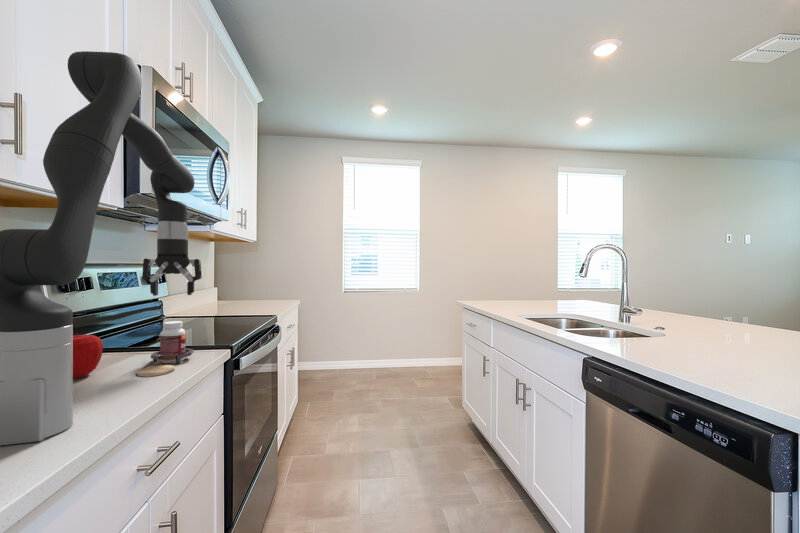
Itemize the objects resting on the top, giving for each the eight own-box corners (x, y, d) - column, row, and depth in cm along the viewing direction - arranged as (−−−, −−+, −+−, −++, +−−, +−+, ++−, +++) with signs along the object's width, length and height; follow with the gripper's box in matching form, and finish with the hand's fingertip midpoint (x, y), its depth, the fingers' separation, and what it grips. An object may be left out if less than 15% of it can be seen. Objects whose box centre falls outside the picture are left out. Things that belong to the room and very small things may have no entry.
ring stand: (188, 363, 102) (188, 355, 102) (147, 366, 99) (147, 357, 99) (195, 355, 111) (195, 347, 111) (158, 357, 108) (158, 349, 108)
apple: (113, 371, 94) (113, 329, 94) (74, 383, 85) (74, 336, 85) (80, 370, 96) (80, 328, 96) (38, 381, 86) (38, 335, 86)
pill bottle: (186, 361, 104) (186, 322, 104) (160, 364, 101) (160, 324, 101) (184, 357, 110) (184, 319, 109) (160, 359, 106) (160, 321, 106)
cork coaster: (169, 374, 92) (169, 372, 92) (132, 377, 89) (132, 375, 89) (178, 366, 99) (178, 364, 99) (143, 368, 97) (143, 366, 97)
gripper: (138, 236, 99) (138, 297, 99) (198, 238, 104) (198, 295, 104) (148, 238, 106) (148, 294, 106) (203, 239, 111) (203, 293, 111)
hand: (172, 295), depth 105 cm, fingers open, 8 cm apart
